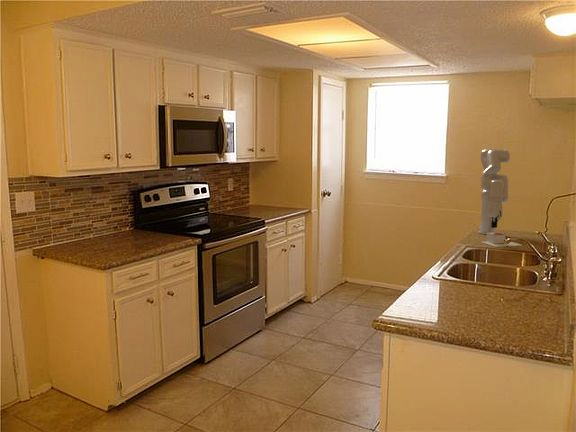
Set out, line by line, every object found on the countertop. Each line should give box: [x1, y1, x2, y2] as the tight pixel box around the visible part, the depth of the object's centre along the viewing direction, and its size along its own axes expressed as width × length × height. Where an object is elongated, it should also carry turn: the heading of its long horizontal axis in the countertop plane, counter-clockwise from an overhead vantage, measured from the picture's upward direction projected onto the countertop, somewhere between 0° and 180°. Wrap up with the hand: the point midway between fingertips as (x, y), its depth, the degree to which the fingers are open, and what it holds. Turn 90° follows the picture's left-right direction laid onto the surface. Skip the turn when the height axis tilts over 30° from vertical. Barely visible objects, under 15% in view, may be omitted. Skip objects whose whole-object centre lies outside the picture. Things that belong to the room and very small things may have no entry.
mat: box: [480, 240, 524, 248], centre depth 315 cm, size 15×19×1 cm
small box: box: [486, 231, 506, 244], centre depth 318 cm, size 8×6×10 cm
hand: (494, 227), depth 323 cm, fingers closed
